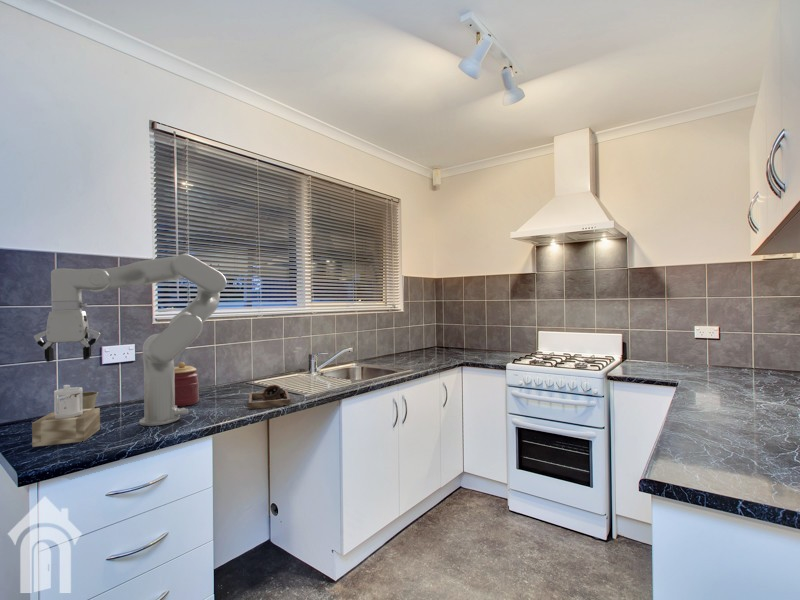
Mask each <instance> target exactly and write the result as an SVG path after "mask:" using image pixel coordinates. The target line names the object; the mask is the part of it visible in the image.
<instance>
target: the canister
mask: <svg viewBox="0 0 800 600" xmlns="http://www.w3.org/2000/svg"><path fill="white" fill-rule="evenodd" d="M177 364H178V365H177V366H174V369H175V405H177V408H179V407H178V406H180V407H186V405H187V406H192V405H194V404H198V402H199V399H200V393H199V390H200V386H199V384H200V381H199V379H198V377H199V375H200V374H199V373H198V372H197V368H196V367H194V366H193V365H186V363H185V362H184V361H181V362H178V363H177Z"/></svg>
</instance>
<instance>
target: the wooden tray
mask: <svg viewBox="0 0 800 600" xmlns="http://www.w3.org/2000/svg"><path fill="white" fill-rule="evenodd" d="M283 390H284V389H283ZM265 395H268V394H267V392H266V393H265ZM284 395H285V396H286V399H277V400H276V399H275V400H269V401H263V400H262V401H260V400H261V399H263V391H262V392H261V391H260V392H251V393H249V395H248V398H249V399H248V410H253V409H254V410H255V409H264V408H265V409H266V408H267V409H268V408H275V407H277V408H278V407H284V406H283V405H287V406H291V397H290V394H289V392H288V390H287V389H285V390H284ZM259 399H260V400H259ZM253 400H259V401H253Z"/></svg>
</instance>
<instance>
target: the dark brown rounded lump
mask: <svg viewBox="0 0 800 600" xmlns="http://www.w3.org/2000/svg"><path fill="white" fill-rule="evenodd" d="M262 392H263V398H262V401H269V400H280V399H286V396H285V395H284V389H283V388H281V387H280V385H278V384H272V385H269V386H267V387H266V388H265V389H264V390H263V391H262ZM266 392H267V394H268V395H265V393H266Z"/></svg>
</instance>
